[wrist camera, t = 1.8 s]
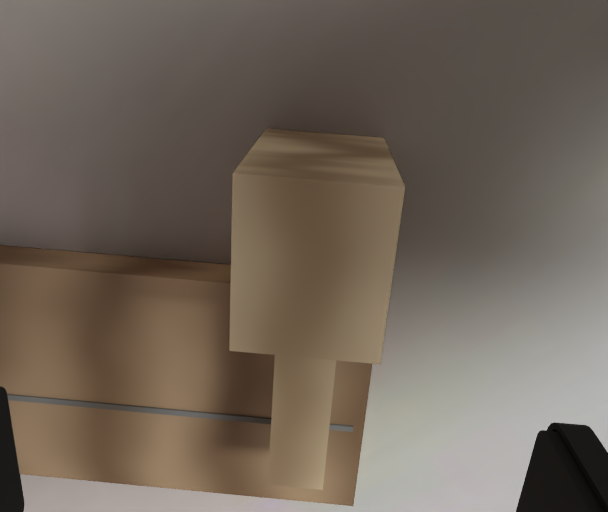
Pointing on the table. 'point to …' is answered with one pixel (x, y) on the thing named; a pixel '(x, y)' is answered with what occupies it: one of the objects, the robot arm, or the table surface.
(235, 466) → the board
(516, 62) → the table surface
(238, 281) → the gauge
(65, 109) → the table surface
